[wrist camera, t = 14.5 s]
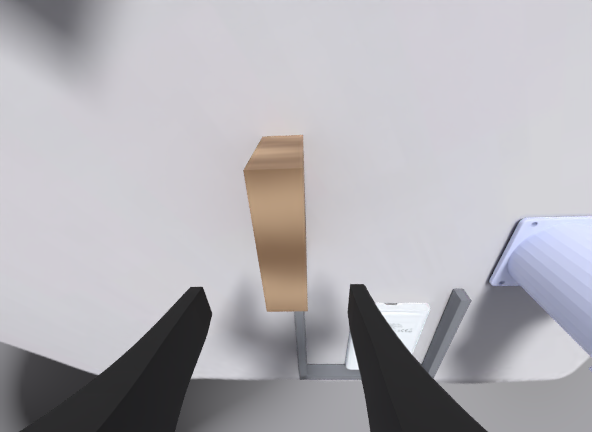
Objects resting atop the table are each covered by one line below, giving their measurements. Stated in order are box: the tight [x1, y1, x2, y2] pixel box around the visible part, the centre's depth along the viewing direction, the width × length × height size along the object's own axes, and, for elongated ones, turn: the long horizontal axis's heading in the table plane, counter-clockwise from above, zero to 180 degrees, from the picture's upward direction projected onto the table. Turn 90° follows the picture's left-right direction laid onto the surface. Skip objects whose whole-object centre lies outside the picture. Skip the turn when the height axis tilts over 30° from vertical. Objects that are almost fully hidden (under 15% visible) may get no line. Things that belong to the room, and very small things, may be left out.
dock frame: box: [294, 289, 471, 380], centre depth 30 cm, size 18×16×2 cm
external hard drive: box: [345, 303, 431, 370], centre depth 30 cm, size 2×8×12 cm
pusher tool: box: [243, 135, 308, 312], centre depth 18 cm, size 11×3×7 cm, turn 3°
